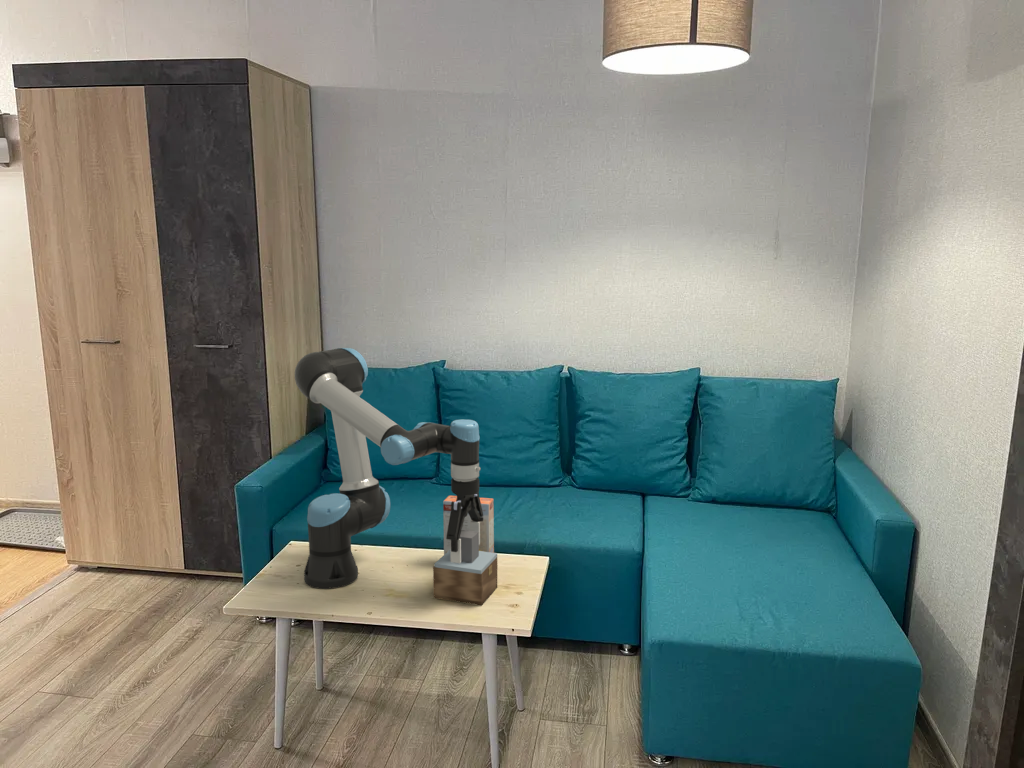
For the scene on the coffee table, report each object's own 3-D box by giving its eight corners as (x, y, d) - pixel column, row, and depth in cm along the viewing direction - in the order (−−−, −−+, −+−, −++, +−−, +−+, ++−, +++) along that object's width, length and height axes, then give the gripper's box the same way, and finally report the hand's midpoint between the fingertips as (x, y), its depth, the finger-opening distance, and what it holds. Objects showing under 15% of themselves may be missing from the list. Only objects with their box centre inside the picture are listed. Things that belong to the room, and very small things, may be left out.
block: (454, 560, 216) (454, 536, 215) (461, 553, 221) (461, 529, 219) (471, 563, 214) (471, 538, 213) (478, 556, 219) (478, 532, 218)
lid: (434, 567, 214) (434, 563, 214) (452, 550, 226) (452, 547, 226) (481, 574, 210) (481, 570, 210) (497, 556, 221) (497, 553, 221)
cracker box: (494, 564, 239) (494, 497, 235) (489, 572, 233) (489, 504, 229) (449, 560, 242) (449, 494, 238) (443, 568, 236) (442, 500, 232)
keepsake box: (432, 597, 216) (432, 566, 215) (450, 580, 227) (450, 550, 226) (482, 605, 212) (482, 573, 210) (498, 587, 223) (498, 557, 221)
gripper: (460, 492, 201) (460, 572, 205) (494, 466, 224) (494, 538, 228) (432, 489, 203) (433, 568, 207) (469, 464, 227) (470, 535, 230)
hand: (465, 553), depth 217 cm, fingers open, 13 cm apart
